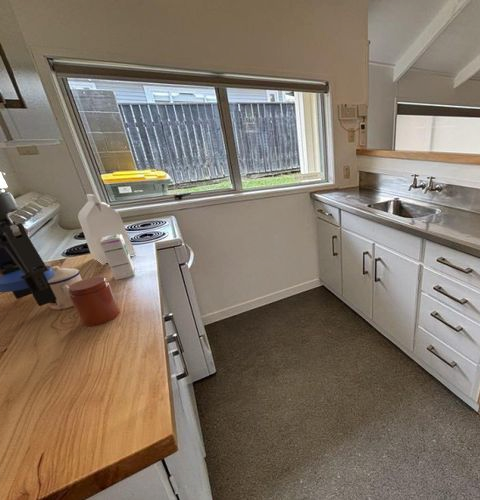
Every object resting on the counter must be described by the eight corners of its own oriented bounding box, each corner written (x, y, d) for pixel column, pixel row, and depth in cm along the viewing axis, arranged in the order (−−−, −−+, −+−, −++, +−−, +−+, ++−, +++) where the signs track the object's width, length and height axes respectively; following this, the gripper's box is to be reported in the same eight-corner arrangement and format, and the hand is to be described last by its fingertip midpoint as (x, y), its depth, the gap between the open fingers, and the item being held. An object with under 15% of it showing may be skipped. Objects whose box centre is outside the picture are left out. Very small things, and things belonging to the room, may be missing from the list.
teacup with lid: (47, 304, 84) (29, 269, 80) (86, 291, 91) (71, 258, 86) (55, 317, 77) (35, 280, 73) (96, 302, 84) (81, 267, 80)
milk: (92, 259, 116) (66, 196, 107) (125, 249, 125) (103, 191, 115) (102, 265, 110) (75, 199, 100) (136, 255, 119) (114, 193, 109)
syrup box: (135, 275, 100) (121, 237, 95) (114, 280, 97) (98, 241, 92) (135, 270, 105) (122, 233, 99) (115, 274, 102) (100, 236, 96)
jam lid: (48, 269, 64) (45, 262, 64) (61, 277, 60) (57, 270, 60) (-8, 286, 58) (-13, 278, 57) (2, 296, 54) (-3, 288, 53)
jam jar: (81, 330, 72) (64, 294, 68) (83, 316, 78) (68, 282, 74) (120, 317, 76) (106, 283, 72) (120, 305, 82) (106, 273, 78)
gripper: (36, 191, 51) (86, 298, 60) (-17, 188, 59) (33, 283, 67) (-26, 199, 45) (39, 318, 54) (-77, 195, 52) (-13, 299, 61)
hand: (36, 298), depth 60 cm, fingers closed on jam lid, 8 cm apart
